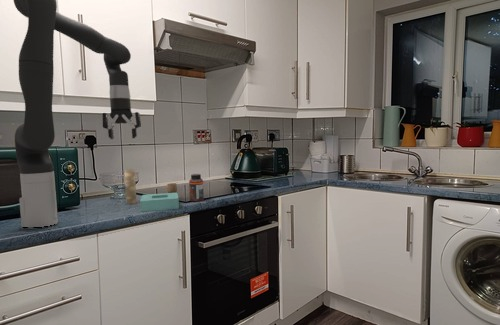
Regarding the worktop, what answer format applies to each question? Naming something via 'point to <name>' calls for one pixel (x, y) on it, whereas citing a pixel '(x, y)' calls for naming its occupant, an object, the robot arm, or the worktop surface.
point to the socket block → (159, 202)
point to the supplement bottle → (196, 188)
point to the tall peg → (130, 186)
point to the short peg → (172, 188)
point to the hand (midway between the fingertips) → (123, 138)
